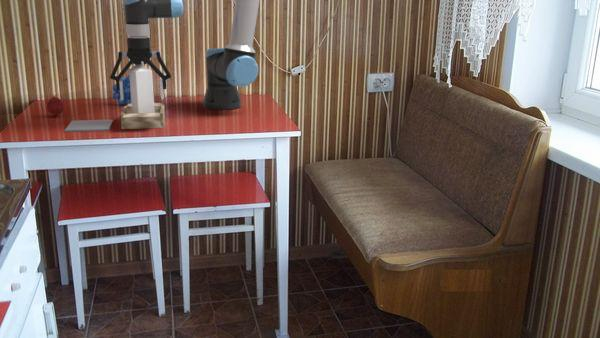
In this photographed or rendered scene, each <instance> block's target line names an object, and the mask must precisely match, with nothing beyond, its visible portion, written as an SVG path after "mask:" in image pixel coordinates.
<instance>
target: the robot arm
mask: <svg viewBox="0 0 600 338" xmlns="http://www.w3.org/2000/svg"><path fill="white" fill-rule="evenodd" d="M123 5H124V14H125V15H124V16H125V31H126V32H125V33H126V36H127V38H126V43H127V45H126V46H127V51H122V50H120V51H118V55H117V60H116V62H115V65H114V67H113V69H112V71H111V74H110V76H109V79H110V80H114V81H115V84H116V88H117V90H120V97H121V100H123V99H124V96H123V83H122V80H120V78H123V76H124V75H125V73H126V72H127V71H129V69H130V68H131V66H132V64H133V65H134V66H135V65H139V64H141V61H143V62H144V66H145V65H148V67H150V69H151V70H152V71H153V72H155V73H156V74H157V75H158V77H159V78H160V80H159V81H160V82H159V83H160V84H159V85H160V86H159V87H160V99H161V100H164V90H167V80H168V79H171V78H172V75H171V73H170V71H169V69H168V67H167V65H166V64H165V62H164V60H163V58H162V55H161V51H160V50H157V51H152V50H151V39H150V37H149V36H150V35H151V34H150V19H175V18H181V17H182V16H183V13H184V2H183V0H123ZM259 6H260V0H235V4H234V10H233V16H232V22H231V23H232V25H231V31H230V37H229V43H228V44H226V45H225V46H224V47H222V48H221V47H220V48H219V47H218V48H208V49H207V50H206V53H205V55H206V56H205V65H206V91H205V94H204V97H203V102H202V103H203V108H205V109H209V110H215V111H216V110H217V111H218V110H219V111H220V110H221V111H222V110H223V111H226V110H236V109H238V108H241V107H242V99H241V96H240V92H239V90H238V87H239V88H244V87H247V86H250V85H251V84H252V83H253V82H254V81H256V79H257V76H258V74H259V66H258V63H257V61H256V60H255V58H256V53H257V52H256V50H255V49H254V47H253V43H254V40H255V39H254V38H255V31H256V26H257V19H258V13H259V8H260V7H259ZM152 56H153V57H154V58H155V59H157V61H158V63H159V66H160V67H161V68H162V70H163V72H164V73H165V74H164V73H163V72H162V71H161V70H160V68H158V67H157V65H155V63H154V62H153V61H152V60H151V58H152ZM125 57H127V58H128V59H129V60H128V62H127V63H126V64H125V66H124V67H123V68H122V70H121V71H120V72H119V73H118V75H116V74H117V72H118V69H119V67H120V65H121V62H122V60H123V59H125Z"/></svg>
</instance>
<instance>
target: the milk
mask: <svg viewBox="0 0 600 338" xmlns="http://www.w3.org/2000/svg"><path fill="white" fill-rule="evenodd" d="M128 73H129V74H128V75H129V77H130V91H131V105H132V114H136V113H155V109H154V103H155V96H154V95H155V94H154V78H153V77H154V76H153V69H151V68H148V67H146V66H145V65H144V62H143V61H141V64H139V65H135V64H134V65H133V66H132V67H130V68H128Z"/></svg>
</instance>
